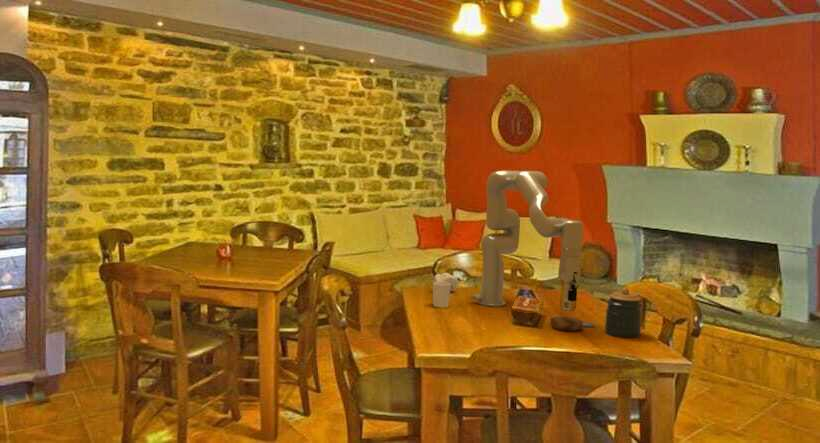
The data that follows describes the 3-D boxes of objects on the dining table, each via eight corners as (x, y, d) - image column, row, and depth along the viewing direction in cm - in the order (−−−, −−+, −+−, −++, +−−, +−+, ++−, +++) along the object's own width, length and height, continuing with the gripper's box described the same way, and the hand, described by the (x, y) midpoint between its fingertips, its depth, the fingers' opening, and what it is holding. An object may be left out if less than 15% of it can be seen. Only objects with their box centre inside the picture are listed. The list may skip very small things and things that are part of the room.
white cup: (429, 306, 260) (430, 283, 259) (435, 303, 267) (436, 280, 266) (446, 309, 257) (447, 285, 256) (452, 305, 264) (453, 282, 263)
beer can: (576, 309, 235) (578, 271, 233) (575, 312, 229) (577, 273, 227) (560, 307, 236) (562, 269, 235) (558, 310, 231) (561, 272, 229)
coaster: (581, 327, 235) (581, 325, 235) (573, 322, 242) (573, 321, 242) (598, 327, 236) (598, 325, 236) (590, 322, 243) (590, 321, 243)
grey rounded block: (448, 296, 282) (449, 277, 281) (426, 292, 288) (427, 274, 287) (460, 292, 291) (460, 274, 290) (438, 288, 298) (439, 270, 297)
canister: (636, 340, 220) (640, 293, 218) (600, 334, 226) (603, 288, 225) (643, 332, 231) (647, 287, 229) (609, 326, 238) (612, 282, 236)
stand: (557, 332, 227) (558, 324, 226) (545, 323, 238) (546, 316, 238) (587, 332, 228) (588, 324, 228) (574, 323, 240) (574, 316, 240)
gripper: (552, 249, 238) (550, 293, 240) (571, 255, 221) (568, 304, 223) (570, 249, 240) (568, 293, 241) (590, 256, 223) (587, 303, 224)
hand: (568, 298), depth 232 cm, fingers closed on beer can, 6 cm apart
